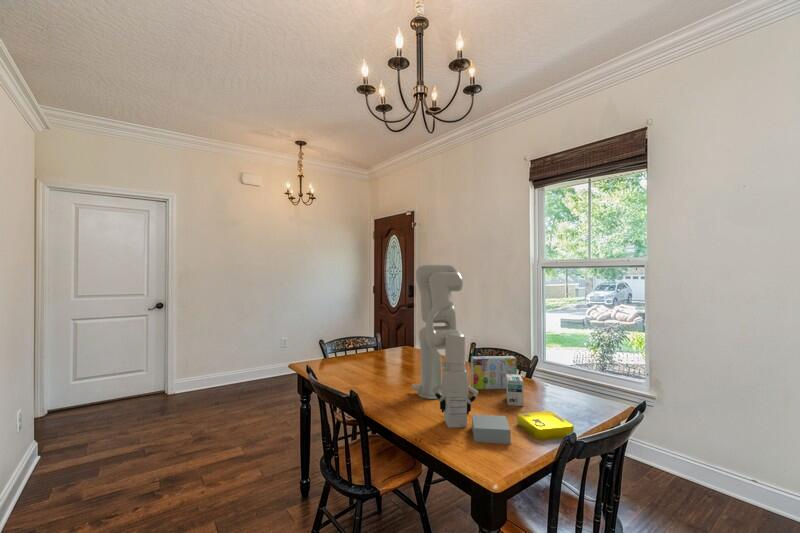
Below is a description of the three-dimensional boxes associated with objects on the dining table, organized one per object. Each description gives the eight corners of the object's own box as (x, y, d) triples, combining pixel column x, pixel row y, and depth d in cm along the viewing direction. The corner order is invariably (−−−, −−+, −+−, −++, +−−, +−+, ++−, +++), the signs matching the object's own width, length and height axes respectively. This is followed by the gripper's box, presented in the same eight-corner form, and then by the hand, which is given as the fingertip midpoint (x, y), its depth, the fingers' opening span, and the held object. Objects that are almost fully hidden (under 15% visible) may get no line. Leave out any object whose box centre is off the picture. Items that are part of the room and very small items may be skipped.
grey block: (474, 442, 130) (474, 428, 130) (472, 428, 142) (472, 414, 142) (510, 444, 129) (510, 429, 129) (505, 429, 140) (505, 416, 140)
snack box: (513, 385, 192) (513, 355, 192) (516, 389, 186) (516, 358, 186) (470, 386, 191) (470, 355, 191) (473, 389, 185) (473, 358, 185)
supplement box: (443, 420, 149) (443, 387, 149) (462, 419, 149) (462, 386, 149) (447, 428, 141) (447, 393, 141) (467, 427, 142) (467, 393, 142)
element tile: (576, 438, 134) (576, 424, 134) (537, 442, 131) (537, 428, 131) (550, 421, 148) (550, 408, 148) (515, 424, 145) (515, 412, 145)
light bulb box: (524, 406, 163) (524, 381, 163) (507, 405, 164) (507, 380, 164) (521, 398, 173) (521, 374, 173) (505, 397, 175) (505, 373, 175)
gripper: (430, 367, 144) (431, 413, 143) (478, 370, 139) (478, 418, 139) (433, 362, 151) (434, 406, 151) (479, 365, 147) (479, 410, 147)
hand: (455, 412), depth 145 cm, fingers closed on supplement box, 9 cm apart
